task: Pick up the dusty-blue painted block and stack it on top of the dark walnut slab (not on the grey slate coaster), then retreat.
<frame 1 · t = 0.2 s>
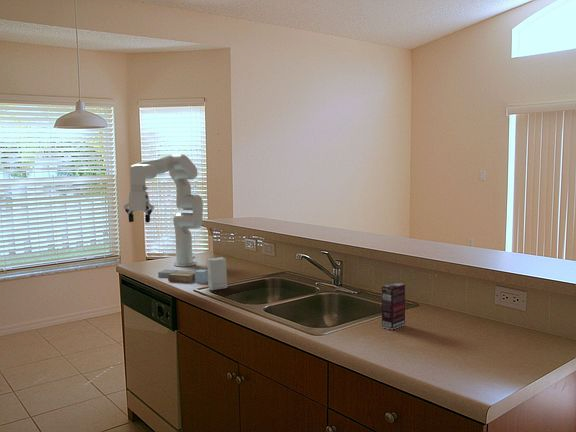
hand: (139, 222, 272), 31 cm above the worktop, fingers open, 9 cm apart
blue block: (201, 282, 272), on the worktop
skincare box: (217, 288, 258), on the worktop
slate coaster: (168, 276, 287), on the worktop
supplement box: (393, 327, 195), on the worktop
walnut slab: (184, 280, 277), on the worktop
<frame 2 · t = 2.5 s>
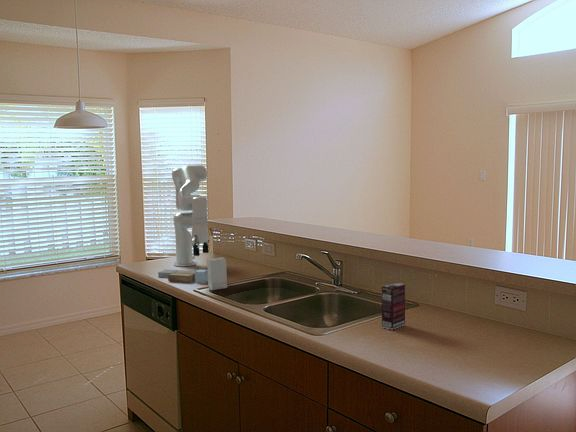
hand: (201, 254, 270), 15 cm above the worktop, fingers open, 9 cm apart
nothing on the worktop moved.
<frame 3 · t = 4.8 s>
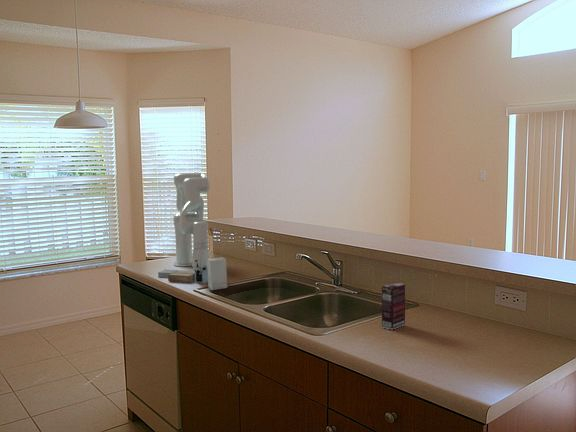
hand: (201, 280, 272), 1 cm above the worktop, fingers closed on blue block, 5 cm apart
blue block: (201, 281, 272), on the worktop, touching gripper
everything else where it was.
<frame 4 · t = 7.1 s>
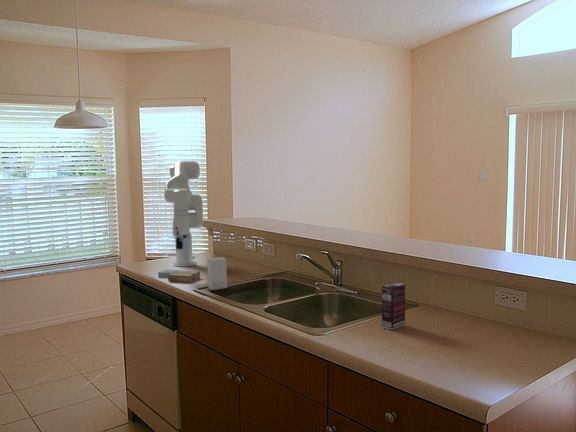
hand: (182, 247, 276), 17 cm above the worktop, fingers closed on blue block, 5 cm apart
blue block: (182, 249, 276), point 16 cm above the worktop, touching gripper
everything else where it was.
when the fingers open (6 cm above the worktop, at t = 9.9 s): blue block drops 1 cm, resting on walnut slab.
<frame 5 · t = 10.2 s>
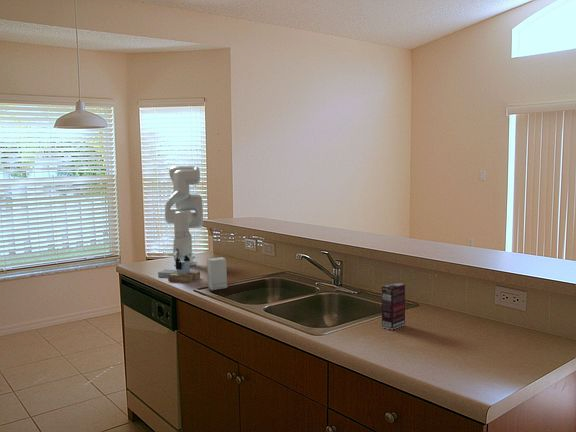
hand: (182, 267, 277), 6 cm above the worktop, fingers open, 7 cm apart
blue block: (183, 273, 277), point 3 cm above the worktop, touching walnut slab
walnut slab: (184, 280, 277), on the worktop, touching blue block
everything else where it was.
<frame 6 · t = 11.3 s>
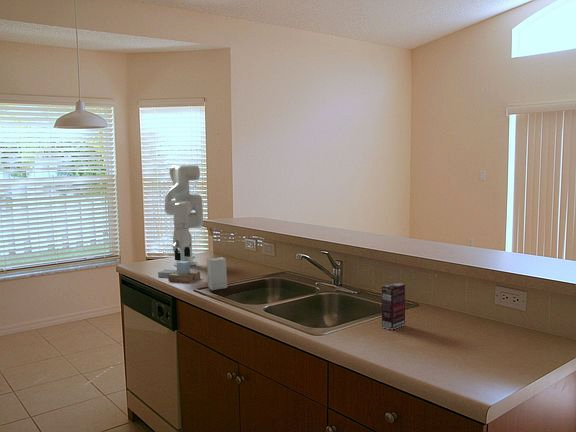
hand: (182, 258, 277), 11 cm above the worktop, fingers open, 9 cm apart
nothing on the worktop moved.
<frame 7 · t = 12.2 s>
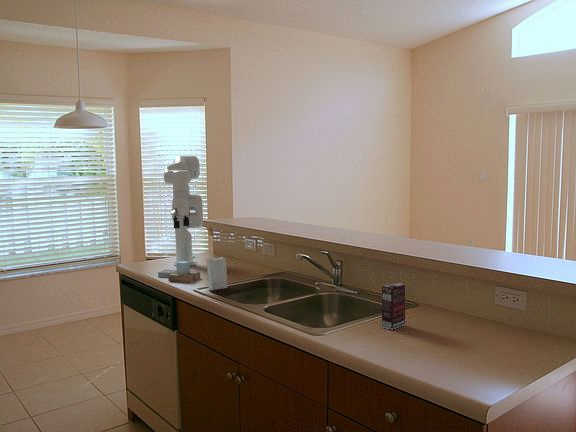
hand: (181, 227, 275), 28 cm above the worktop, fingers open, 9 cm apart
nothing on the worktop moved.
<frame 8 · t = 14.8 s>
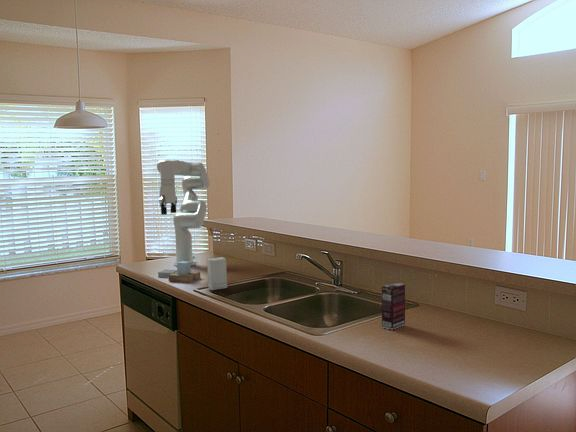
hand: (168, 213, 292), 33 cm above the worktop, fingers open, 9 cm apart
blue block: (184, 273, 276), point 3 cm above the worktop
walnut slab: (184, 280, 277), on the worktop
everything else where it was.
at the end: blue block inside the target area on the walnut slab (0.4 cm from its centre), point 4.0 cm above the walnut slab's base; blue block tilted 0°; the gripper is holding nothing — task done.
